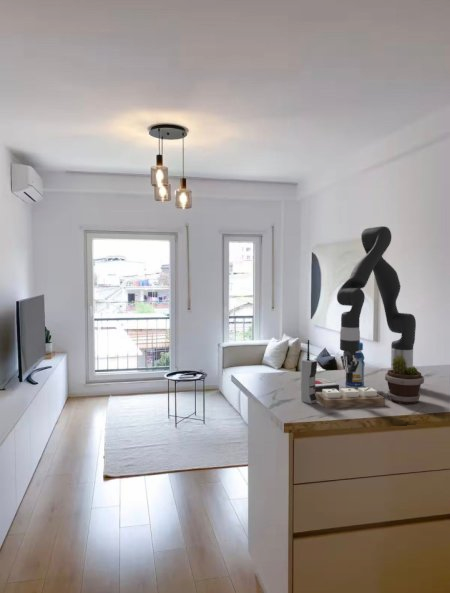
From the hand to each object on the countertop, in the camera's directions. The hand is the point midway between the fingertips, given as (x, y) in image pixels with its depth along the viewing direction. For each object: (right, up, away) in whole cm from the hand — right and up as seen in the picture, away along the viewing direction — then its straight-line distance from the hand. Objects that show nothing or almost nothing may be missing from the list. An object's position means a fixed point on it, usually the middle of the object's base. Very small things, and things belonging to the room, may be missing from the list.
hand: (349, 381), depth 183 cm
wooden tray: (0, -8, +1) cm, 8 cm away
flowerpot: (+23, -8, +2) cm, 24 cm away
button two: (-7, -6, -1) cm, 9 cm away
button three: (+8, -6, +1) cm, 10 cm away
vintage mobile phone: (-16, -9, +1) cm, 18 cm away
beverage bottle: (+9, -7, +26) cm, 29 cm away
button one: (0, -6, 0) cm, 6 cm away
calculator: (-7, -8, +21) cm, 24 cm away
